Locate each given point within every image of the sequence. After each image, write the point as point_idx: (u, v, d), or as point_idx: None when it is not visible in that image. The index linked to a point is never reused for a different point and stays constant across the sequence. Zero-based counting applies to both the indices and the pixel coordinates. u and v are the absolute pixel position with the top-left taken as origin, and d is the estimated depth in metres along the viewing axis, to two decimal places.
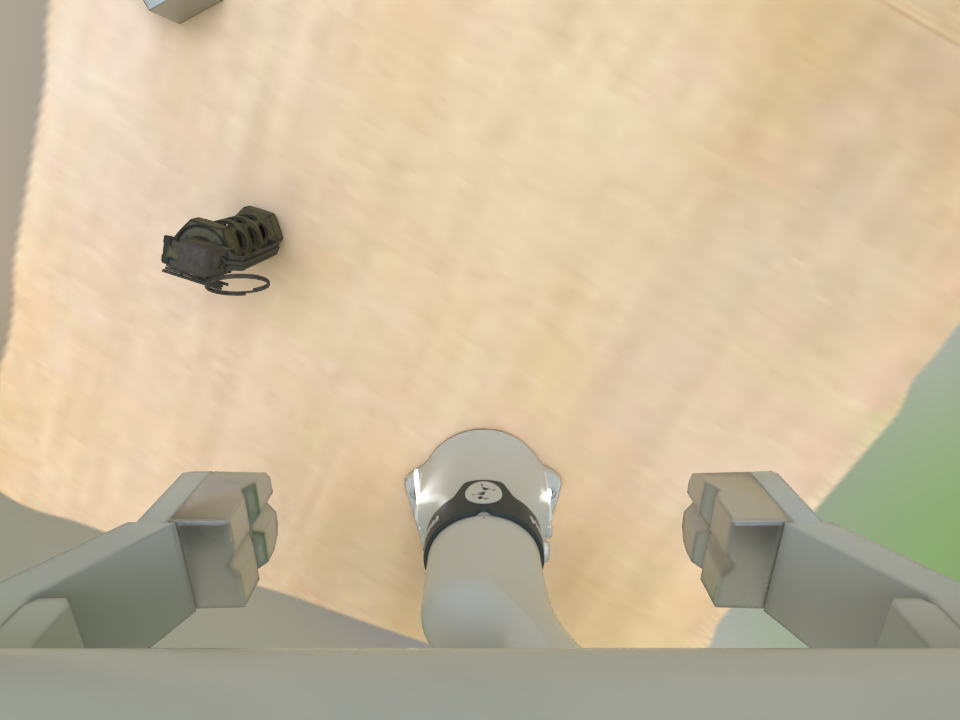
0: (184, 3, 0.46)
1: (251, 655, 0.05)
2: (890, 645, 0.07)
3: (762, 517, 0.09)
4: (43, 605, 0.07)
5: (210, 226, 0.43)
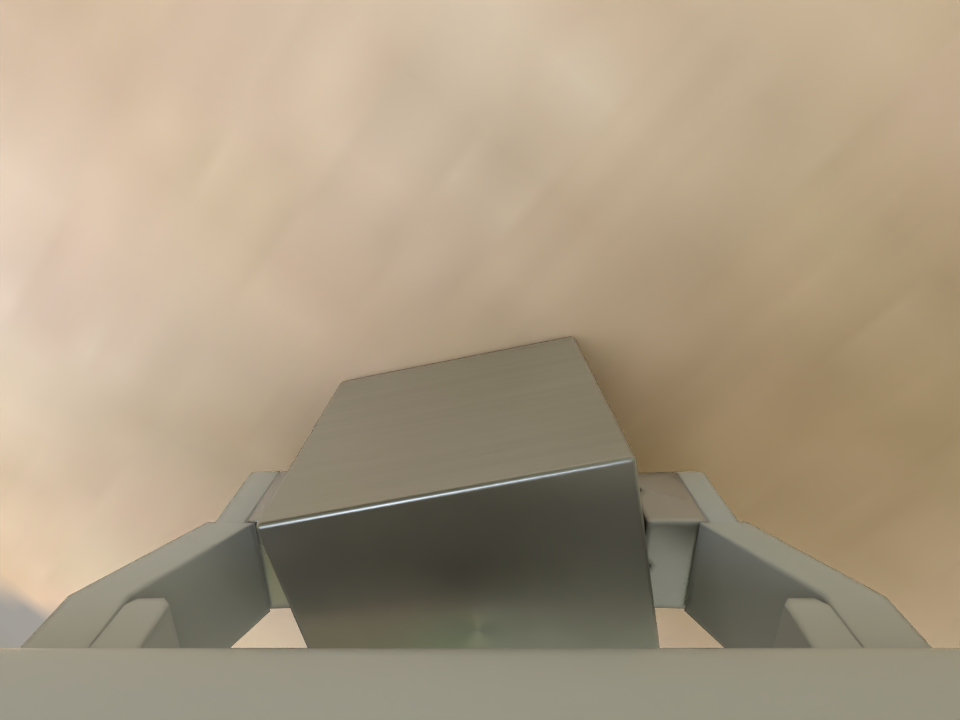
0: None
1: (251, 655, 0.05)
2: (783, 645, 0.07)
3: (679, 517, 0.09)
4: (144, 605, 0.07)
5: None
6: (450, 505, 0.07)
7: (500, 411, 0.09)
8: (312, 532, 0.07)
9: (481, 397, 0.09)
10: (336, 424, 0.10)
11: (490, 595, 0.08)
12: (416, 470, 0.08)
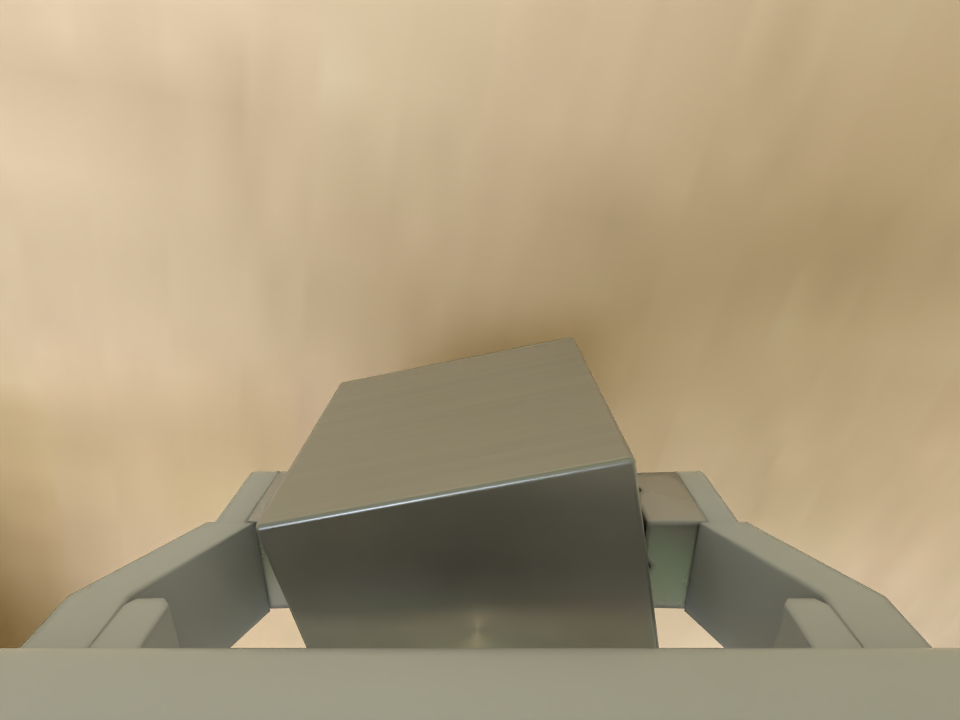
0: None
1: (251, 655, 0.05)
2: (783, 645, 0.07)
3: (679, 517, 0.09)
4: (143, 605, 0.07)
5: None
6: (449, 507, 0.07)
7: (499, 412, 0.09)
8: (311, 533, 0.07)
9: (480, 397, 0.09)
10: (335, 425, 0.10)
11: (489, 597, 0.08)
12: (416, 472, 0.08)
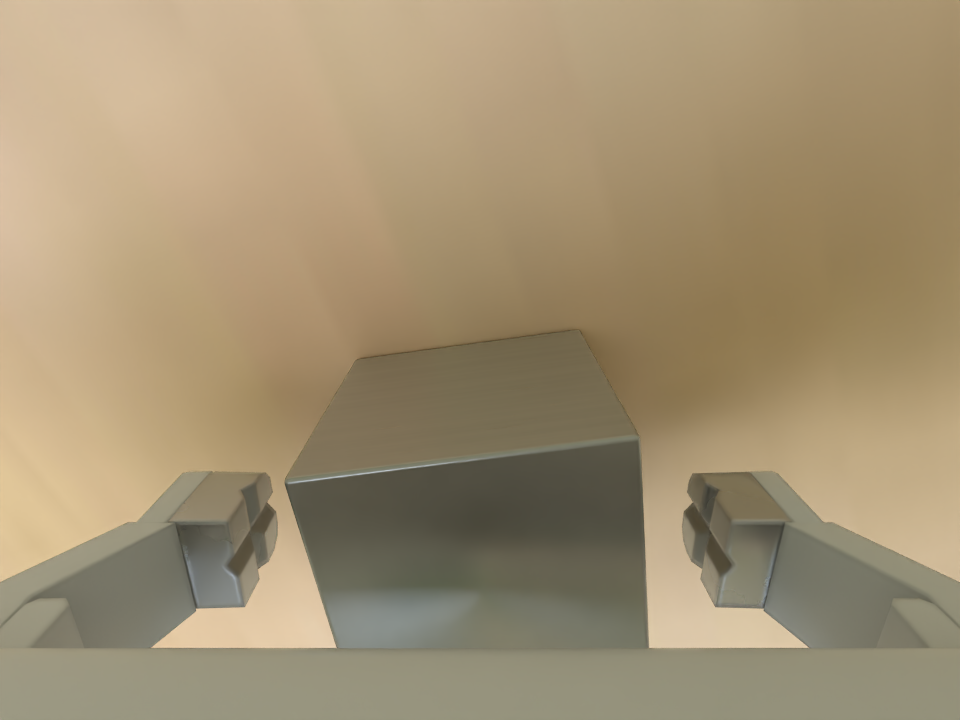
0: None
1: (251, 655, 0.05)
2: (890, 645, 0.07)
3: (762, 517, 0.09)
4: (43, 605, 0.07)
5: None
6: (467, 472, 0.08)
7: (512, 392, 0.09)
8: (337, 489, 0.08)
9: (493, 378, 0.10)
10: (354, 396, 0.10)
11: (496, 559, 0.08)
12: (435, 439, 0.08)
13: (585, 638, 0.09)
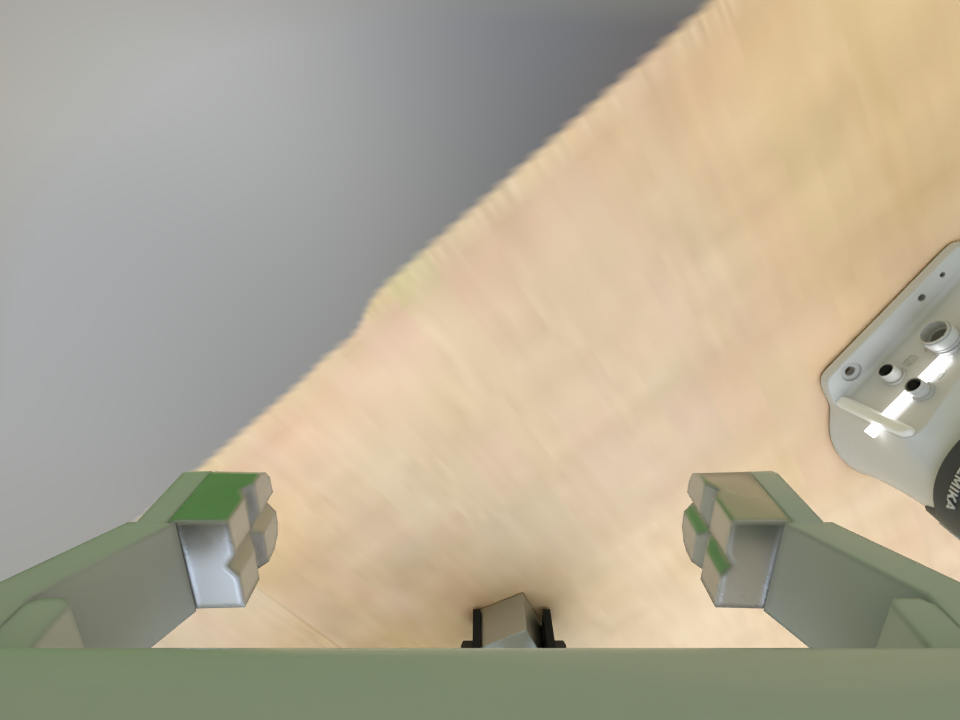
0: (535, 631, 0.55)
1: (251, 655, 0.05)
2: (890, 645, 0.07)
3: (762, 517, 0.09)
4: (43, 605, 0.07)
5: None
6: (505, 640, 0.53)
7: (509, 619, 0.55)
8: (488, 646, 0.53)
9: (506, 615, 0.55)
10: (484, 624, 0.56)
11: None
12: (499, 634, 0.54)
13: None
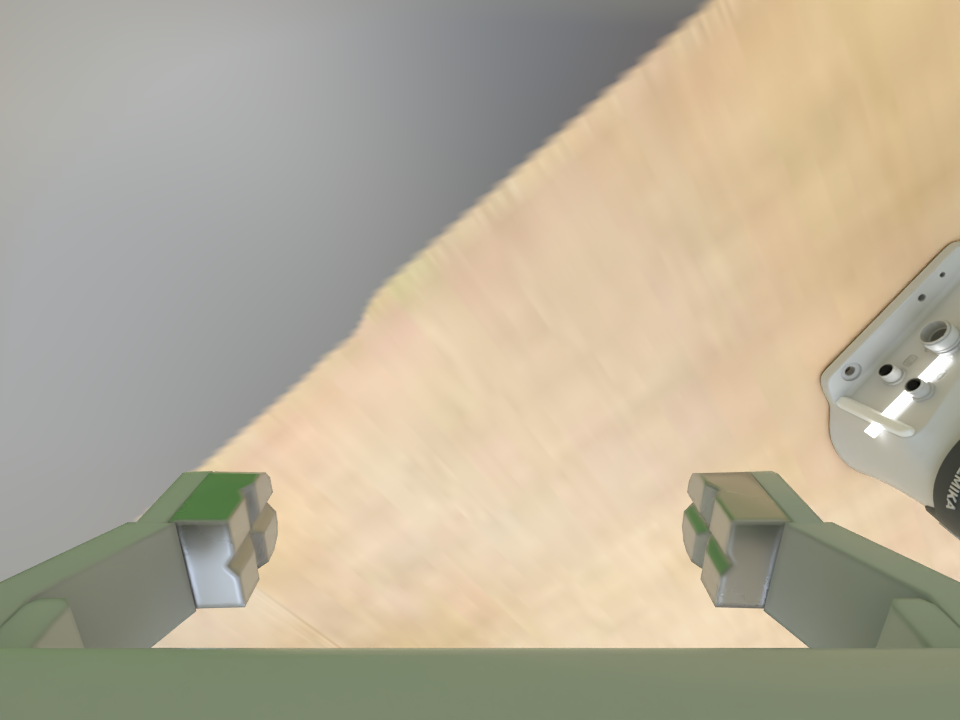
0: None
1: (251, 655, 0.05)
2: (890, 645, 0.07)
3: (762, 517, 0.09)
4: (43, 605, 0.07)
5: None
6: None
7: None
8: None
9: None
10: None
11: None
12: None
13: None
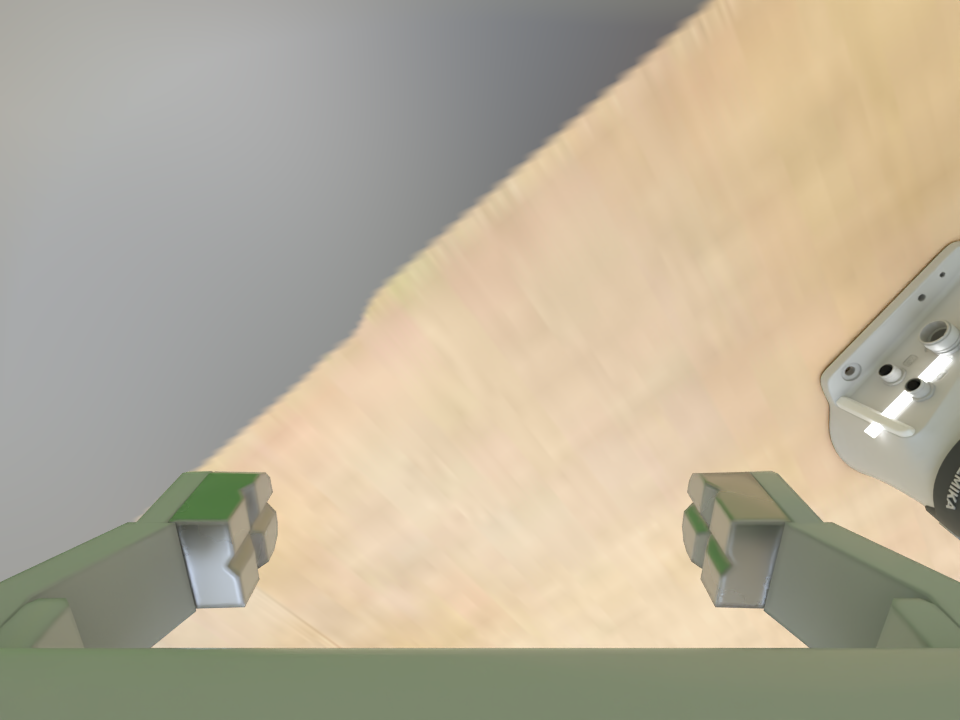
0: None
1: (251, 655, 0.05)
2: (890, 645, 0.07)
3: (762, 517, 0.09)
4: (44, 606, 0.07)
5: None
6: None
7: None
8: None
9: None
10: None
11: None
12: None
13: None
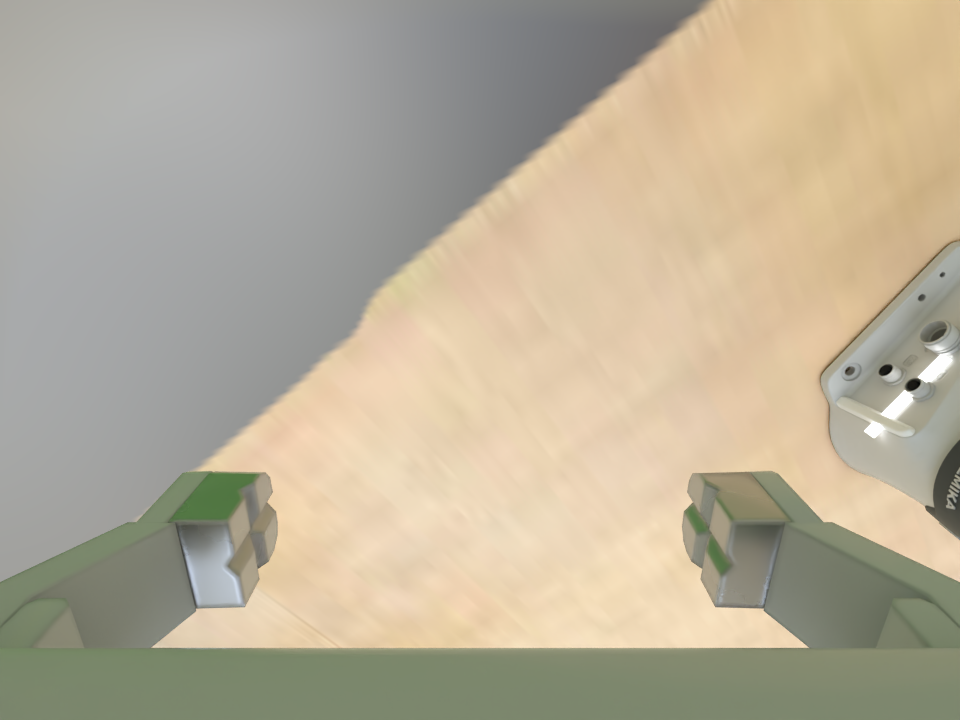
0: None
1: (251, 655, 0.05)
2: (890, 645, 0.07)
3: (762, 517, 0.09)
4: (44, 606, 0.07)
5: None
6: None
7: None
8: None
9: None
10: None
11: None
12: None
13: None
